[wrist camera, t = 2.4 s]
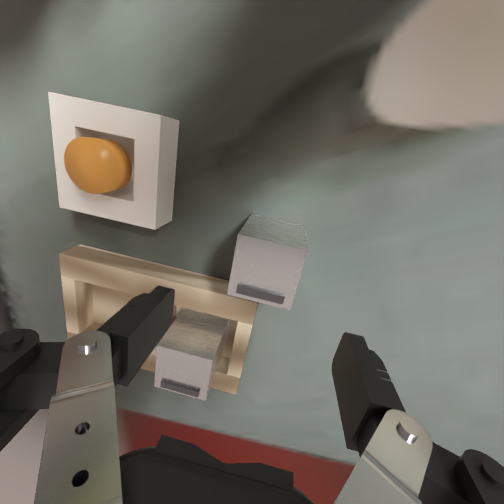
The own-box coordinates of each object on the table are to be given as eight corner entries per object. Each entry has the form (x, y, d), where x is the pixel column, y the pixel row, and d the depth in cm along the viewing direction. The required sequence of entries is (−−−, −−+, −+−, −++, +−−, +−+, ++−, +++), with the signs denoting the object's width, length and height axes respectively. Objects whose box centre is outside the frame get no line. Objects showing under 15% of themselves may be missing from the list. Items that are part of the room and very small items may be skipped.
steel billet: (251, 213, 21) (237, 235, 16) (303, 225, 21) (308, 251, 15) (242, 260, 23) (226, 295, 17) (290, 271, 23) (290, 311, 17)
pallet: (80, 244, 25) (58, 253, 22) (261, 288, 24) (257, 303, 21) (86, 333, 29) (68, 348, 27) (240, 374, 28) (235, 394, 25)
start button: (84, 134, 18) (61, 131, 16) (132, 144, 18) (114, 143, 16) (87, 184, 20) (66, 187, 18) (131, 194, 19) (114, 199, 17)
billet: (187, 302, 25) (155, 347, 19) (230, 313, 25) (211, 362, 19) (182, 338, 27) (153, 388, 21) (223, 348, 26) (204, 402, 21)
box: (82, 100, 20) (48, 91, 17) (179, 120, 19) (160, 114, 17) (87, 200, 23) (59, 207, 20) (171, 220, 22) (155, 229, 20)
